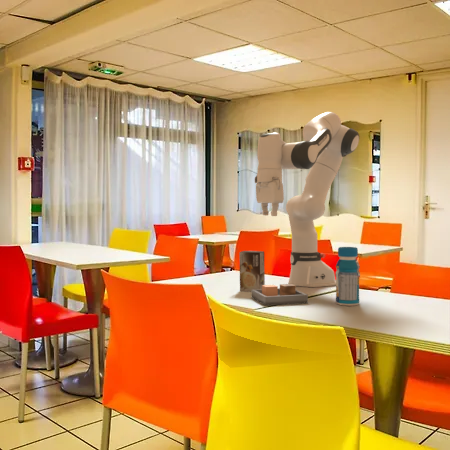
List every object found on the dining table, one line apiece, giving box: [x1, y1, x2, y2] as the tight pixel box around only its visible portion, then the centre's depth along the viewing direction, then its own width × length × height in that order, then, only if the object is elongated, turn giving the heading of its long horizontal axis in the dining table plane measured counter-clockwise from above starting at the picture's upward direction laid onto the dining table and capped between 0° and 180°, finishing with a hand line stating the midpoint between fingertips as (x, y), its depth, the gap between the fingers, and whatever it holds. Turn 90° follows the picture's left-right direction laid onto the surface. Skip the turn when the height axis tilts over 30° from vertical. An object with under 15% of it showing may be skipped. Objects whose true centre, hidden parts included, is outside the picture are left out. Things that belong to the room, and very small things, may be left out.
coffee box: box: [238, 250, 266, 293], centre depth 219 cm, size 9×6×16 cm
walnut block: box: [279, 283, 297, 296], centre depth 199 cm, size 4×4×4 cm
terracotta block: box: [262, 284, 278, 296], centre depth 197 cm, size 4×4×4 cm
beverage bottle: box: [334, 246, 361, 307], centre depth 190 cm, size 8×8×20 cm
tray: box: [251, 287, 309, 306], centre depth 198 cm, size 16×16×3 cm
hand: (269, 215), depth 196 cm, fingers open, 8 cm apart
